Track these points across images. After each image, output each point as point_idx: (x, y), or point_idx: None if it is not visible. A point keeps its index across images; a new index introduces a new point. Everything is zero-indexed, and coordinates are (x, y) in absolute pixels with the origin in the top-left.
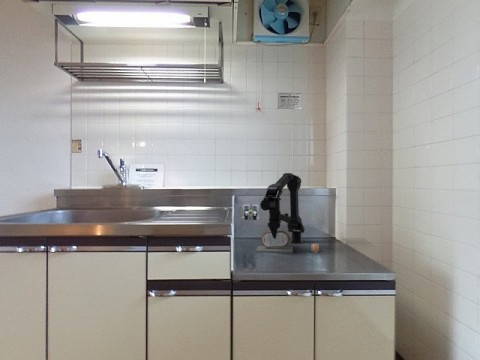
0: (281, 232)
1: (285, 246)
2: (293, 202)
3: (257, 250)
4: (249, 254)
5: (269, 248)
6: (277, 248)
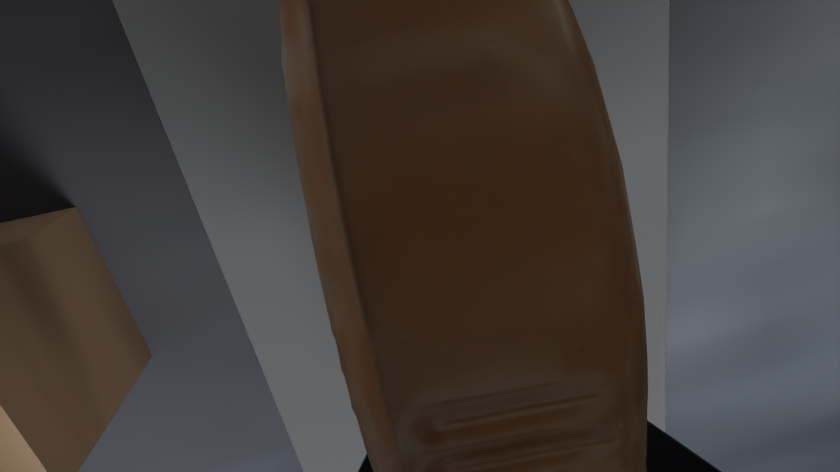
0: (637, 341)
1: (156, 108)
2: None
3: None
4: (782, 469)
5: None
6: None
